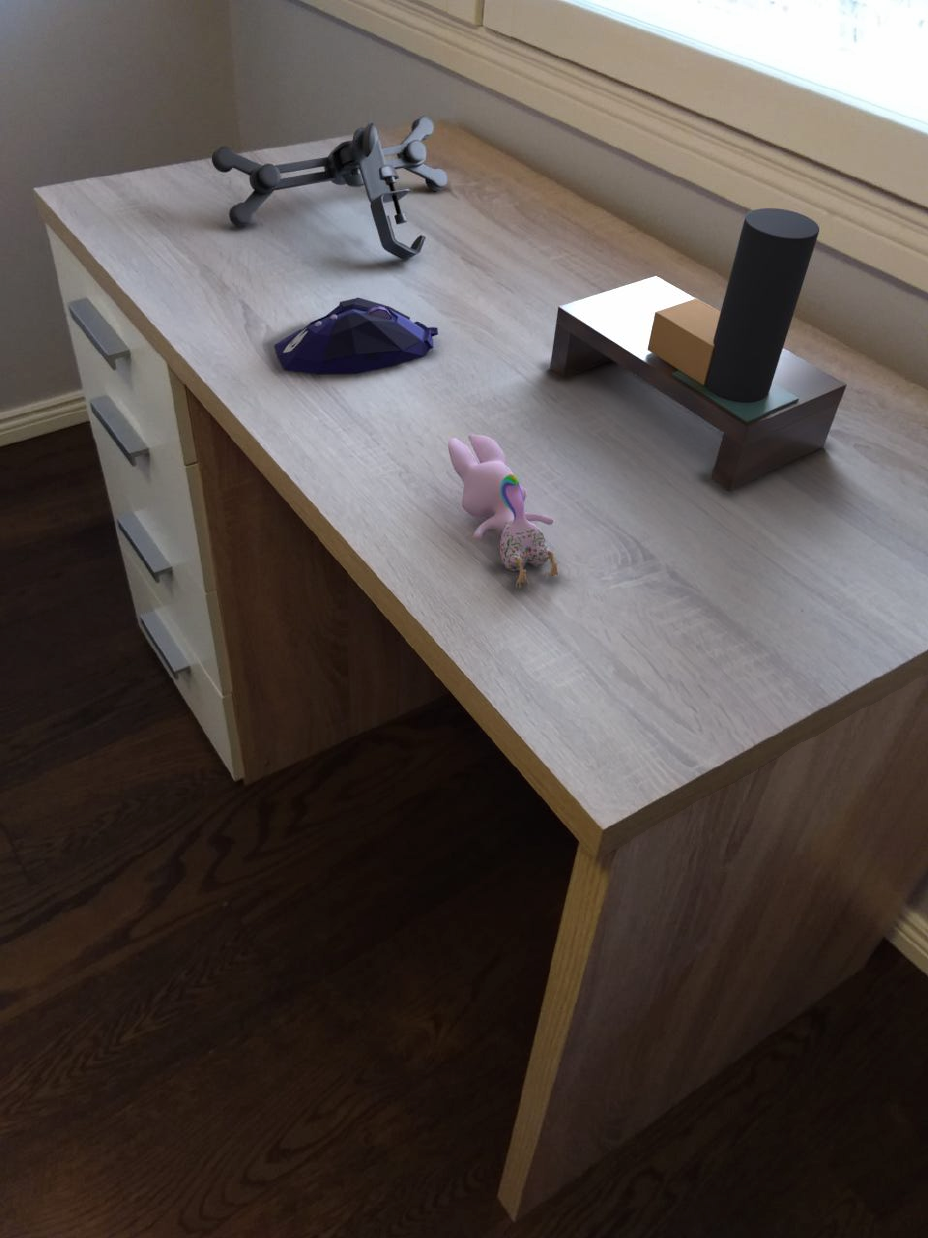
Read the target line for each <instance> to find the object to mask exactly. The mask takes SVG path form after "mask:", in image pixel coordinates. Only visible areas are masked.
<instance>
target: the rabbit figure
mask: <svg viewBox="0 0 928 1238" xmlns="http://www.w3.org/2000/svg"><path fill="white" fill-rule="evenodd" d="M467 438H468V440H469V442H470V445H471V447H472V449H473V452H474V454H475V455H474V454H473V452H472V451H471V450H470V448H469V447H468V446H467V445H466V444H465V443H463V442H462V441H461V440H459V439H457V438H456V437H452V438H450V439H449V440H448V444H447V450H448V455H449V459H450V463H451V466H452V467H453V470H454V471H455V473H456V475H458V476H459V478H460V479H461V481H462V483H463V487H462V488H463V489H462V490H463V491H462V496H461V497H462V498H461V508H462V509H463V511H465V513H467V514H468V515H469V516H471V517H472V518H477V519H485V520H484V522H483V523H481V524H480V525H479V526H478V527H477V528H476V530H475V531H474V533H473V535H472V537H473V539H474V540H476V541H478V540H480V539H482V536H483V534H484V533H485V532H487V531H489V530H495V532H497V533H498V534H499V535H500V536H501V537H500V542H499V554H500V559H501V562H502V565H503V566H504V567H505V568H506V569H507V570H509V571H512V572H518V571H519V577H518V579H516V582H515V586H516V587H518V586H519V588H521V587H522V584H523V583H527V584H529V583H530V582H529V581H528V580H527V578H526V576H527V575H526V572H527V571H526V569H524V567H525V565H526V563H529V564H531V565H533V566H542V565H544V564H545V563H546V562H547V561H550V564H551V567H550V568H551V569H550V572H549V573H548V574H547V575H546V579H549V577H551V580H552V581H553V582H554V576H557V577H558V578H560V576H559V571H558V562H556V561H555V559H554V552H553V550H551V548H550V545H549V543H548V541H547V538H546V536H545V533H544V532H543V531H542V529H541V528H540V527H539V526H538V525H536V524H535V523H533V522H541V523H543V524H544V525H548V526H550V525H552V524H553V523H554V519H553V518H552V517H550V516H548V515H544V514H541V513H536V512H529V511H525V509H524V508H525V503H524V502H525V500H526V498H527V490H526V488H525V487H524V486H523V485H522V484H521V483H520V481H519V479H518V476H517V475H515V474H514V473H513V471H512V470H511V469H510V468H509V466H507V465H506V462H507V461H506V460H507V459H506V456H505V453H504V451H503V449H502V448H501V447H500V445H499V444H498V443H497V442H496V441H495V440H494V439H493V438H491V437H488V436H486V435H481V434H469V435H468V437H467ZM475 456H476V457H475ZM477 459H478V460H477Z"/></svg>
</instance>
